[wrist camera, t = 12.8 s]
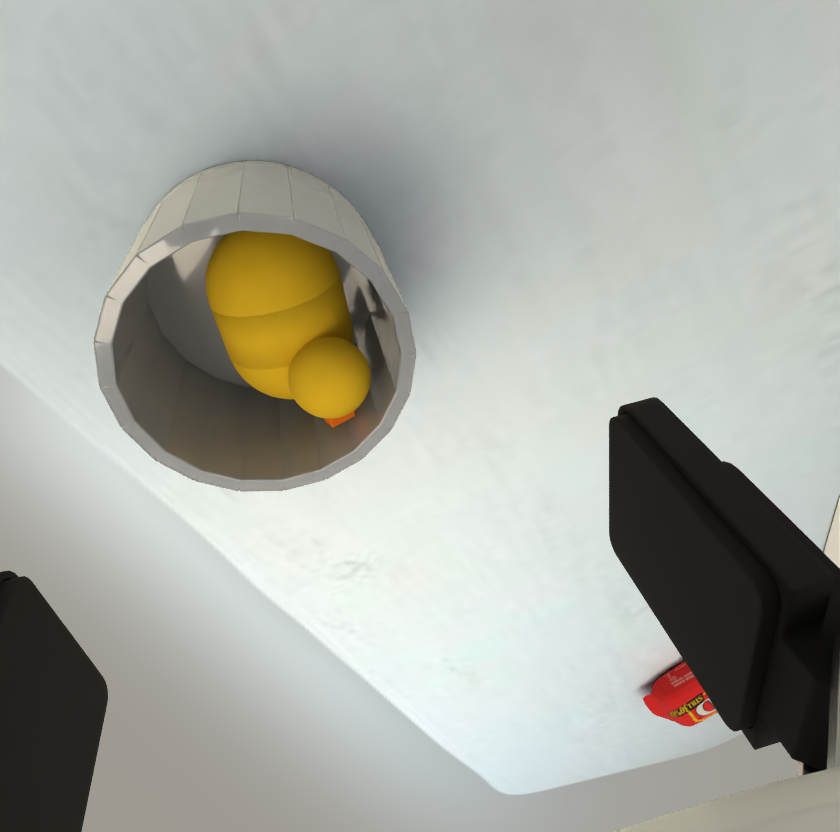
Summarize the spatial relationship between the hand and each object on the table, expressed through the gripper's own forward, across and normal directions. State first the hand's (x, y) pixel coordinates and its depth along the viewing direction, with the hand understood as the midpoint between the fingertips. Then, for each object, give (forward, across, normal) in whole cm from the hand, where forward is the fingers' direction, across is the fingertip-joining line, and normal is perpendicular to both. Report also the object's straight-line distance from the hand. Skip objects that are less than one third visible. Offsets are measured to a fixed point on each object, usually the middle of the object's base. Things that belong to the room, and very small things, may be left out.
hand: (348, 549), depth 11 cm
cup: (+17, +2, +2) cm, 18 cm away
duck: (+17, +2, +2) cm, 17 cm away
